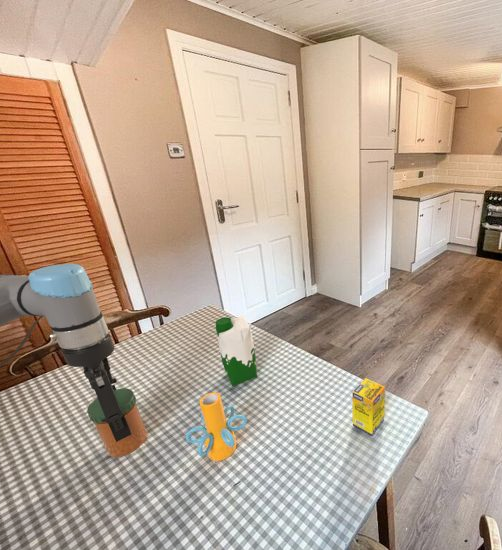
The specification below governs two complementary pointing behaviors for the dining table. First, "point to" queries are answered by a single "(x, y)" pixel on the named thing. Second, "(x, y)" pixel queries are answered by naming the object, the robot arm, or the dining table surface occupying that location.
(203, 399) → the orange vase
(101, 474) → the dining table surface
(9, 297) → the robot arm
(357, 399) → the supplement box
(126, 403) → the jar lid
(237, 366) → the milk carton
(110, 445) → the jar
